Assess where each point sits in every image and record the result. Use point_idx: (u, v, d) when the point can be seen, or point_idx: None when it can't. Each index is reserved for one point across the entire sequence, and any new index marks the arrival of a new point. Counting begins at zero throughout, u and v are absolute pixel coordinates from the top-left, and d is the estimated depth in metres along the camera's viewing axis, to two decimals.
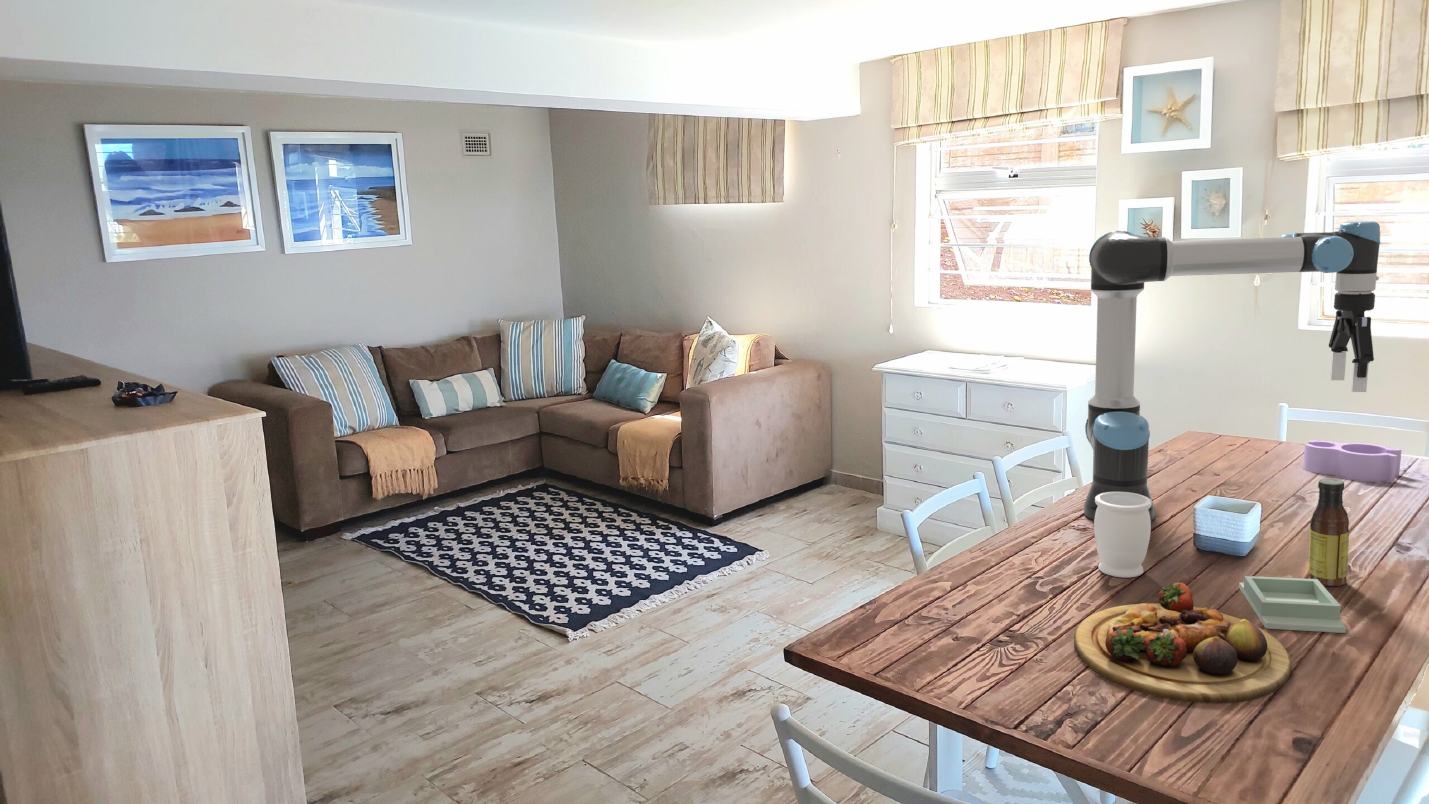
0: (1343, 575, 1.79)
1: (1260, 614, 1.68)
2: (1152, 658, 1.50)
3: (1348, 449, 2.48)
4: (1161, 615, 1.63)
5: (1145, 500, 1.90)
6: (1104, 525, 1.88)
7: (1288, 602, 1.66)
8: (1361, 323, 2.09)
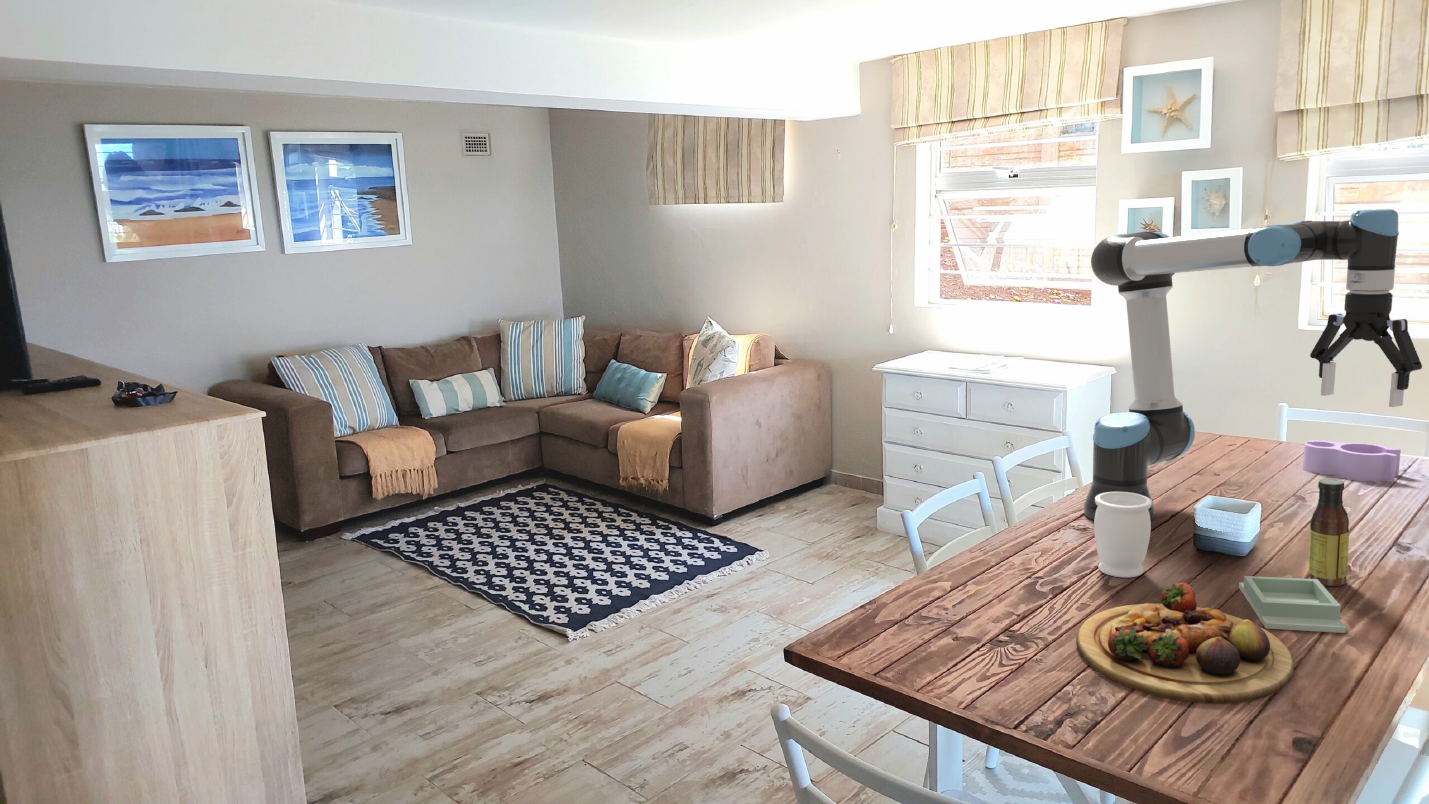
0: (1343, 575, 1.79)
1: (1260, 614, 1.68)
2: (1155, 658, 1.50)
3: (1347, 449, 2.48)
4: (1164, 615, 1.63)
5: (1145, 500, 1.90)
6: (1104, 525, 1.88)
7: (1288, 602, 1.66)
8: None
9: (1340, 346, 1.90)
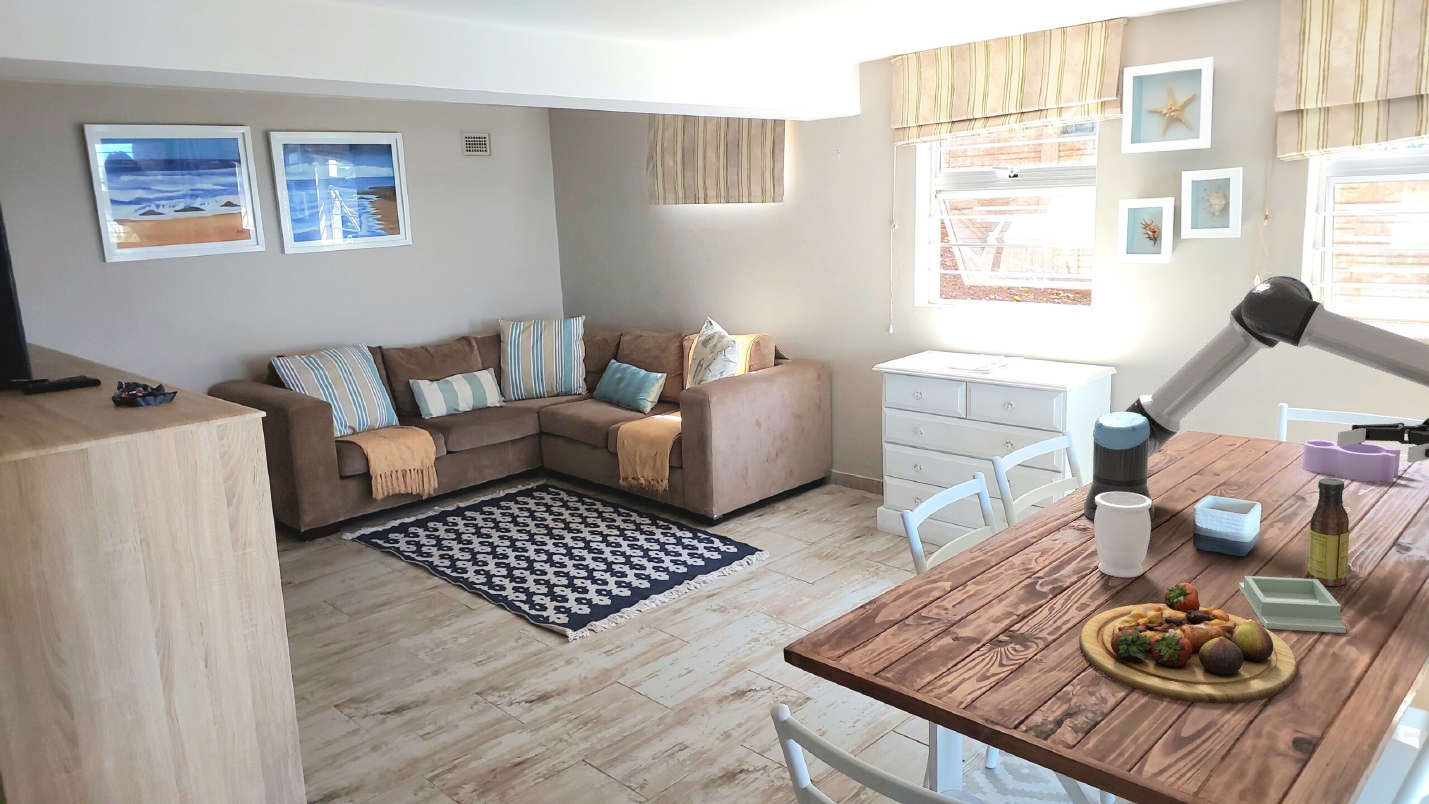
0: (1343, 575, 1.79)
1: (1260, 614, 1.68)
2: (1158, 658, 1.50)
3: (1347, 449, 2.48)
4: (1167, 615, 1.63)
5: (1145, 500, 1.90)
6: (1104, 525, 1.88)
7: (1288, 602, 1.66)
8: None
9: (1389, 432, 1.87)
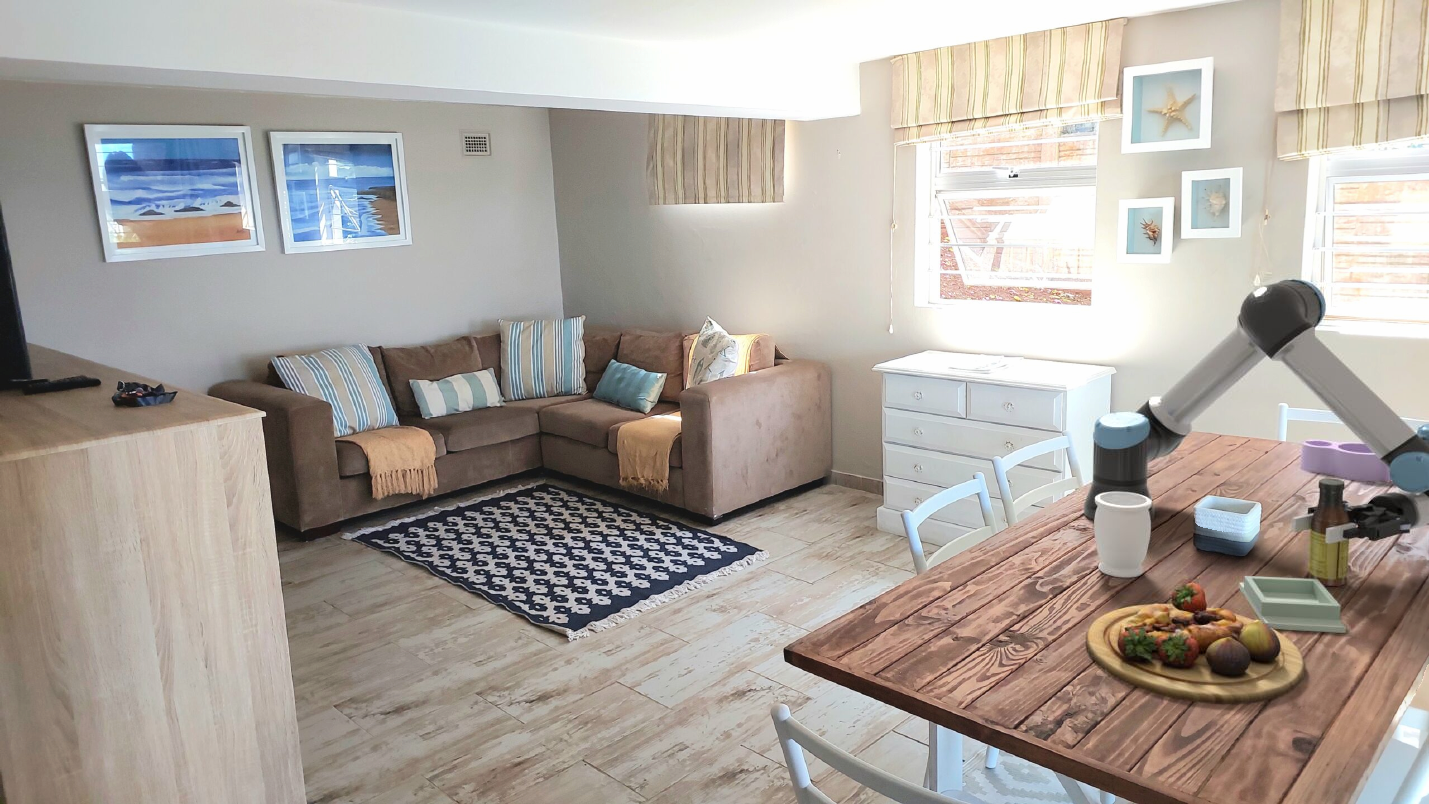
0: (1343, 575, 1.79)
1: (1260, 614, 1.68)
2: (1164, 658, 1.50)
3: (1345, 448, 2.49)
4: (1174, 615, 1.63)
5: (1145, 500, 1.90)
6: (1104, 525, 1.88)
7: (1288, 602, 1.66)
8: None
9: None
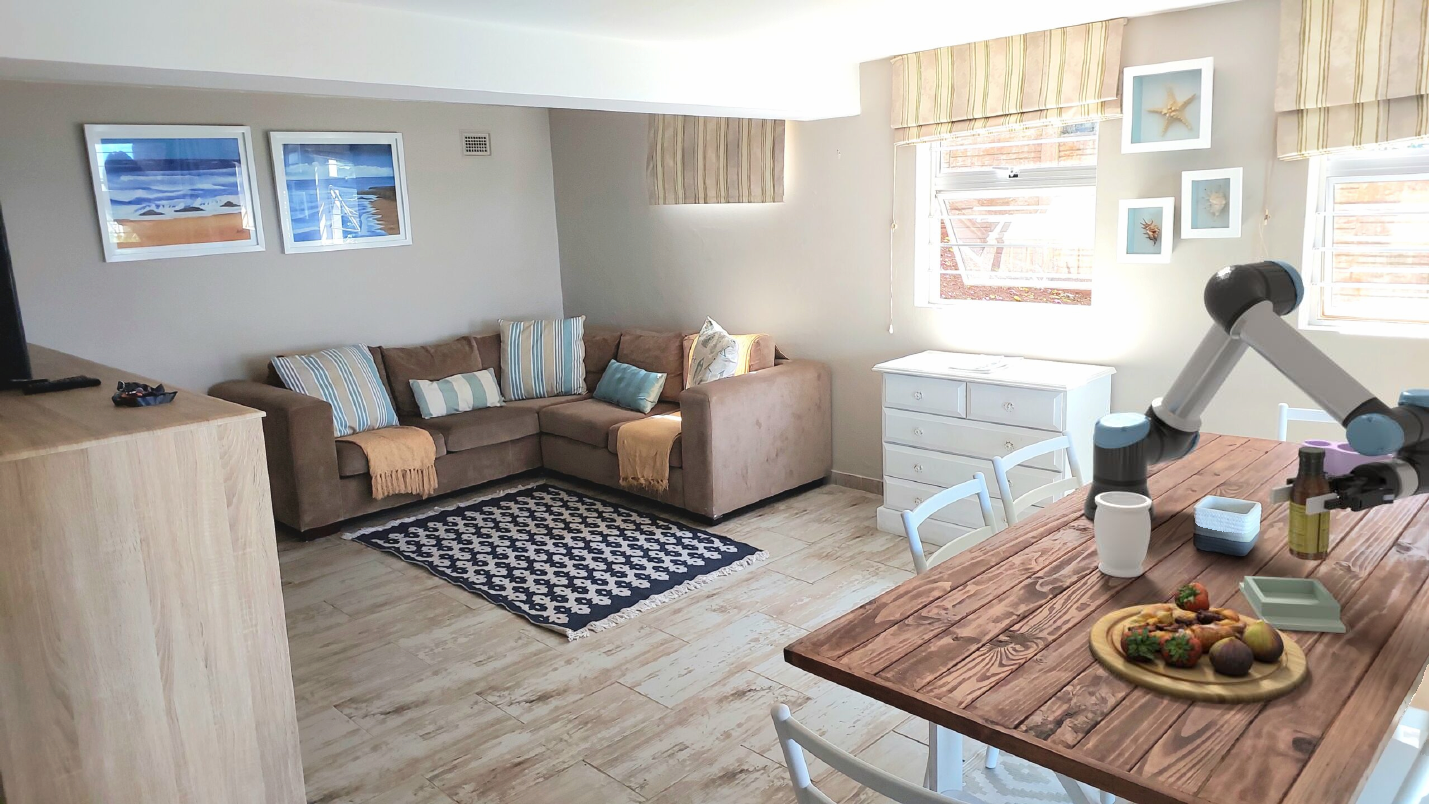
0: (1324, 549, 1.69)
1: (1260, 614, 1.68)
2: (1167, 658, 1.50)
3: (1344, 448, 2.49)
4: (1177, 615, 1.63)
5: (1145, 500, 1.90)
6: (1104, 525, 1.88)
7: (1288, 602, 1.66)
8: None
9: None
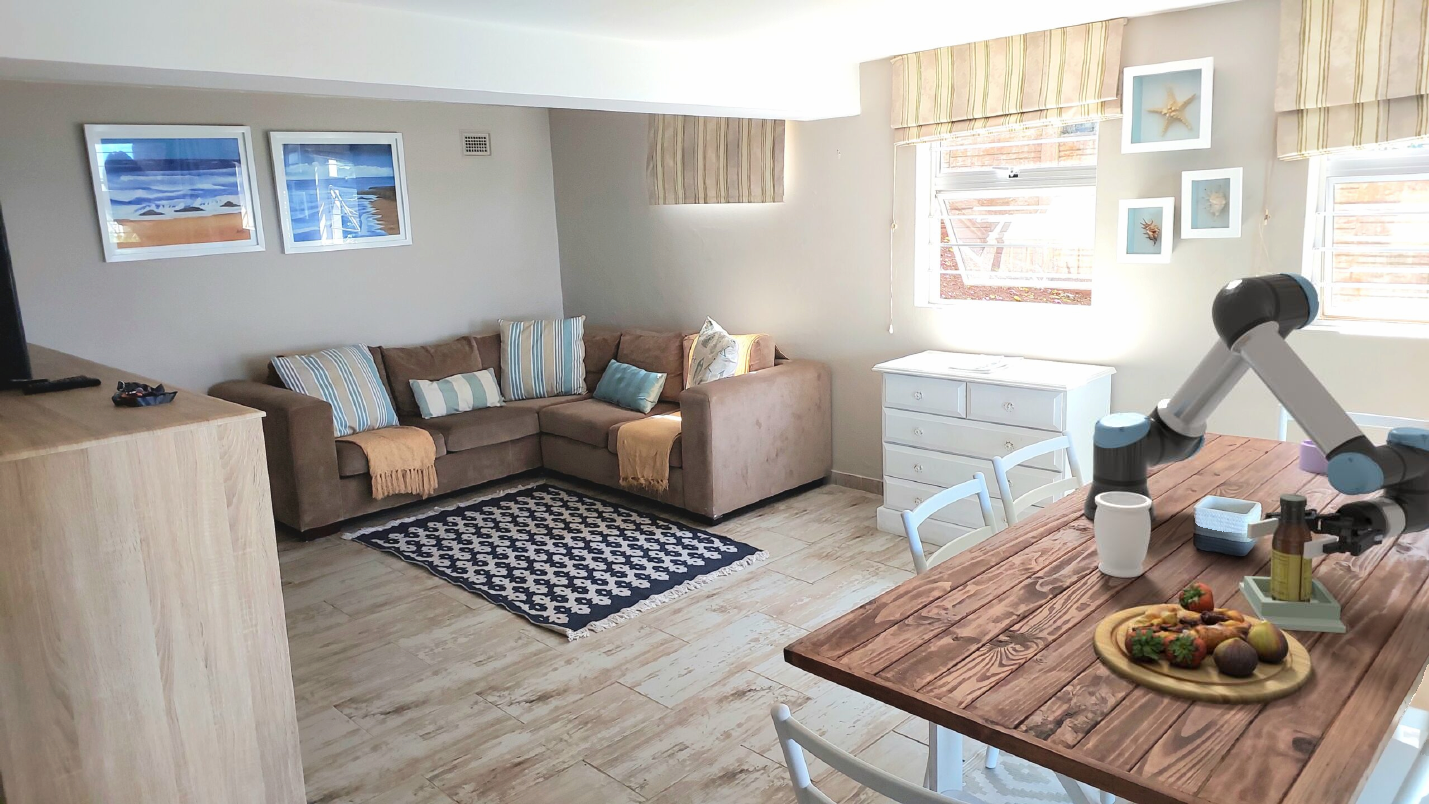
0: (1306, 597, 1.68)
1: (1260, 614, 1.68)
2: (1172, 659, 1.50)
3: None
4: (1181, 616, 1.63)
5: (1145, 500, 1.90)
6: (1104, 525, 1.88)
7: (1288, 602, 1.66)
8: None
9: None
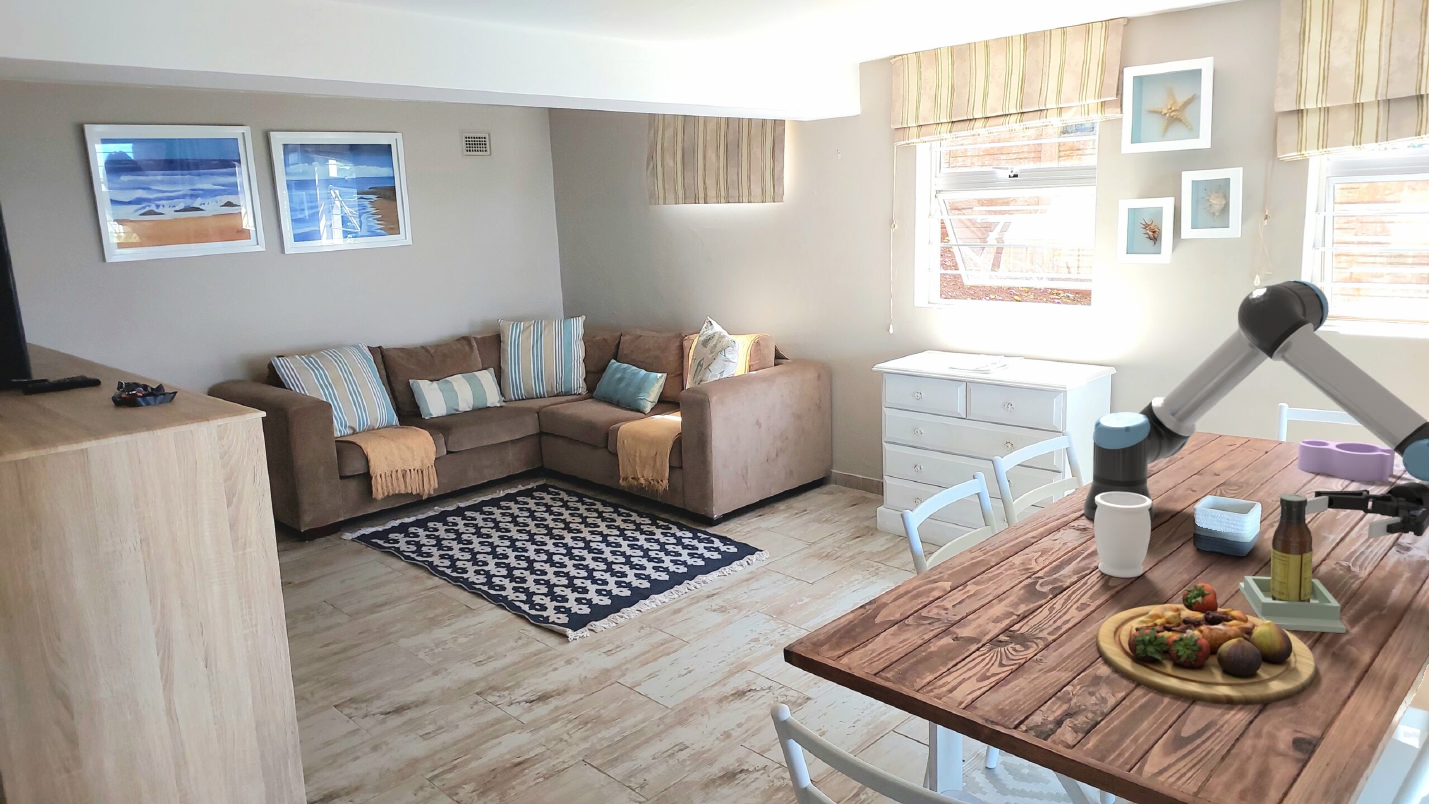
0: (1306, 597, 1.68)
1: (1260, 614, 1.68)
2: (1175, 659, 1.50)
3: (1342, 448, 2.49)
4: (1185, 616, 1.63)
5: (1145, 500, 1.90)
6: (1104, 525, 1.88)
7: (1288, 602, 1.66)
8: None
9: (1352, 500, 1.80)
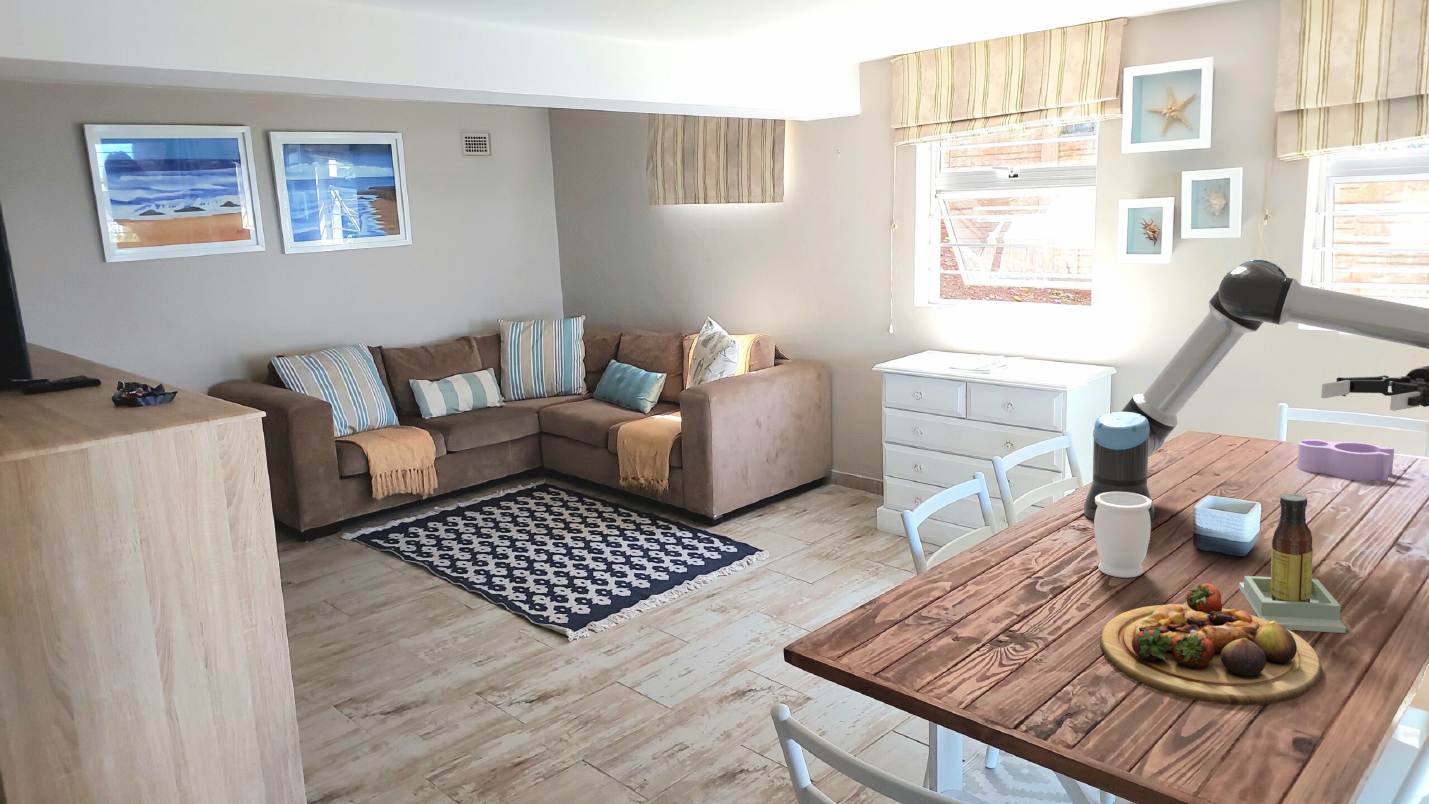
0: (1306, 597, 1.68)
1: (1260, 614, 1.68)
2: (1179, 659, 1.50)
3: (1341, 448, 2.49)
4: (1189, 616, 1.62)
5: (1145, 500, 1.90)
6: (1104, 525, 1.88)
7: (1288, 602, 1.66)
8: None
9: (1373, 384, 1.89)
